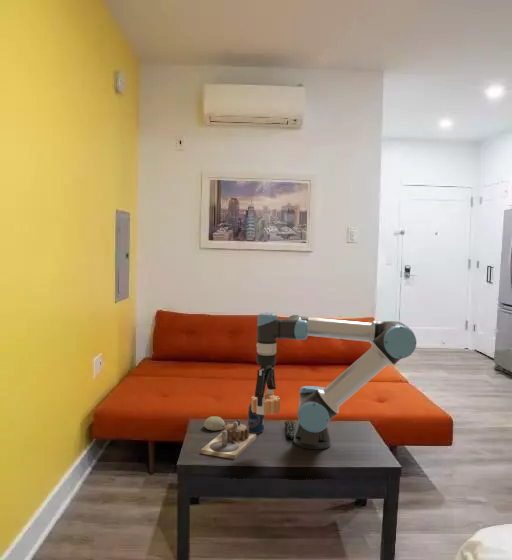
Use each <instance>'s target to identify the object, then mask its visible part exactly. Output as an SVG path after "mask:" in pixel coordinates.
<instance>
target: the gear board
mask: <svg viewBox="0 0 512 560" xmlns="http://www.w3.org/2000/svg"><path fill="white" fill-rule="evenodd" d="M256 439H257V433H252V432H250V431H249V426H248V424H246V423H244V424H243V423H241V420H240V419H236V421H233V422H232V423H225V425H223V427H222V429H221V432H220V434H217V436H216V437H214V439H212V440H211V441H209V443H207V444H206V445H205V446H203V447H202V448H201V449H200V454H202V455H209V456H214V457H219V458H220V457H221V458H227V459H233V460H236V459H237V458H238V457H239V456H240V455H241V454H242V453H243V452H244V451H245V450H246V449H247V447H249V446H250V445H251V444H252V443H253V442H254V441H255V440H256Z"/></svg>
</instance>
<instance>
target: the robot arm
mask: <svg viewBox="0 0 512 560" xmlns="http://www.w3.org/2000/svg"><path fill="white" fill-rule="evenodd" d="M256 332H257V333H256V344H255V346H256V352H257V354H256V364H257V365H259V366H260V369H257V371H256V372H257V373H256V376H257V377H256V382H255V383H256V384H255V392H254V395H255V397H257V414H260V415H264V395H265V391H266V394H268V395H275V394H274V392H275V391H274V390H277V386H276V385H277V384H276V374H275V365H276V364H277V339H279V340H280V339H281V340H283V339H284V340H297V341H300V340H302V341H303V340H307V339H308V337H316V338H317V337H320V338H329V339H338V340H349V341H358V342H367V343H369V344H370V345H371V347H370V348H369V349H368V350H366V352H364V353H363V354H362V355H361V356H360V357H359V358H358V359H356V360H355V361H354V362H353V363H352V364H351V365H350V366H348V367H347V368H346V369H345V370H344V371H343V372H341V373H340V374H339V375H338V376H337V377H336V378H335V379H333V380H332V381H331V382H330V383H329V384H328V385H327V386H324V387H323V386H313V385H304V386H301V387H300V388H299V393H298V394H299V400H298V408H297V414H296V415H297V420H298V424H297V426H296V430H295V432H294V435H293V443H294V444H295V445H296V446H298V447H300V448H303V449H307V450H322V449H323V450H324V449H328V448H329V447H330V446H331V445H332V437H331V433H330V430H329V427H328V426H329V423H330V421H331V420H332V419H333V418H334V417H336V416H337V415H338V414H339V412H340V411H339V410H340V407H341V406H342V405H343V404H345V402H347V400H348V399H350V398H351V397H352V396H353V395H354V394H356V393H357V392H358V391H359V390H360V389H362V387H364V386H365V385H366V384H368V382H369V381H371V380H372V379H373V378H374V377H375V376H377V375H378V374H379V373H380V372H381V371H383V370H384V369H385V368H386V367H387V366H395V365H396V364H397V363H398V362H400V361H401V359H406V358H408V357H410V356H411V355H412V354H413V353H414V352H415V350H416V348H417V338H416V335H415V333H414V332H413V330H412V328H410V327H409V326H407V325H406V324H404V323H403V322H400V321H394V320H391V321H390V320H386V321H383V320H382V321H381V320H372V321H371V322H363V321H354V320H342V319H331V318H323V317H321V318H320V317H312V316H311V317H310V316H308V317H307V316H301V315H298V314H292V315H290V316H288V317H287V318H286V319H285V318H284V319H281V318H278V315H277V314H276V313H273V312H271V313H270V312H263V313H259V314H258V315H257V323H256ZM266 387H267V389H266ZM264 416H265V415H264Z"/></svg>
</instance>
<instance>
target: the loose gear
mask: <svg viewBox="0 0 512 560" xmlns="http://www.w3.org/2000/svg"><path fill="white" fill-rule="evenodd" d="M250 398H251V401H250V403H251V410H252V412H253V413H254V412H256V414H257V397H255V394H254V395H252V396H251V397H250ZM280 412H281V398H280V396H279V395H276V394H274V395H268V394H267V393H264V416H267V415H269V416H270V415H272V416H273V415H274V414H279V413H280Z"/></svg>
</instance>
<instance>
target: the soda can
mask: <svg viewBox="0 0 512 560" xmlns="http://www.w3.org/2000/svg"><path fill="white" fill-rule="evenodd" d="M247 414H248V415H247V426H249V433H251V434H259V433H263V431H264V428H265V415H260V414H256V412H254V413H253V412H252V410H251V402H250V403H249V406H248V413H247Z"/></svg>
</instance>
